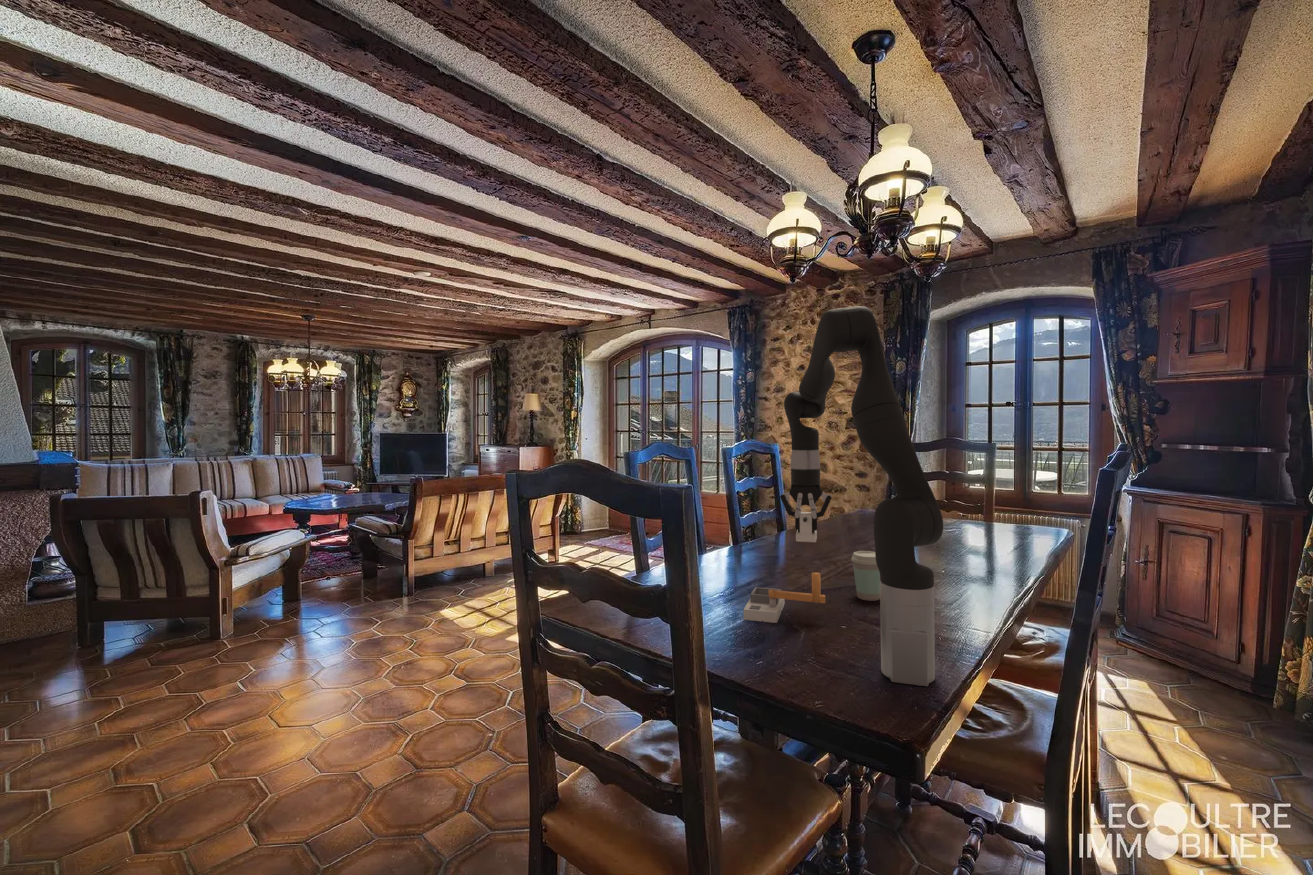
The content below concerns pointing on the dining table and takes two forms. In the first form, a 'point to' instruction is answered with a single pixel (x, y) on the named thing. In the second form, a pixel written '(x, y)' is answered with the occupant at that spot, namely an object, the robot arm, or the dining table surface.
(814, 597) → the crank handle
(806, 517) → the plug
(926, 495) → the robot arm
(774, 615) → the white stepped base
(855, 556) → the coffee cup
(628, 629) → the dining table surface
